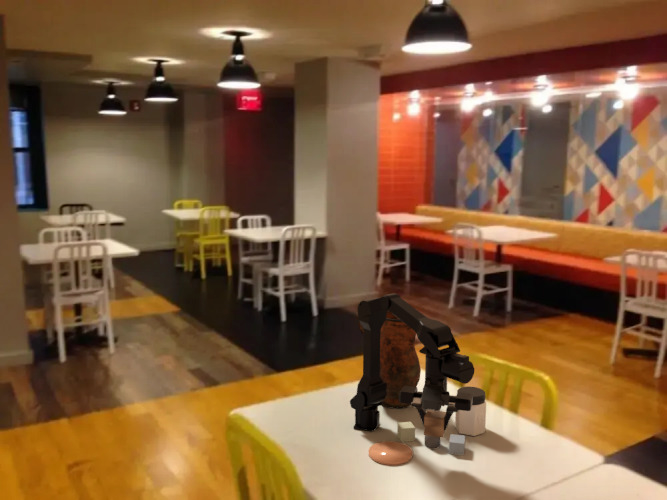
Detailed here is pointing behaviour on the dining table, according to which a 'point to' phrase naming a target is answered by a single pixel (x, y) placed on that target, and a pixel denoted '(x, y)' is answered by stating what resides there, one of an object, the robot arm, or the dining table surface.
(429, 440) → the grey cylinder
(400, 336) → the pitcher
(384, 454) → the coaster
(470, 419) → the jar
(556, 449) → the dining table surface
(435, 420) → the walnut block
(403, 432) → the sage cube
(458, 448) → the plastic brick
